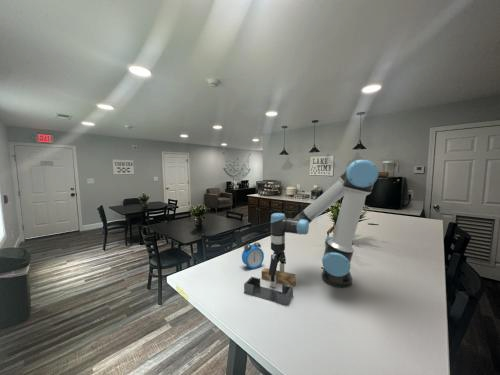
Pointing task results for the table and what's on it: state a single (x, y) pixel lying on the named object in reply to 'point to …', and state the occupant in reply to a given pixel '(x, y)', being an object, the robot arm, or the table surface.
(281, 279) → the long wooden block
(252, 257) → the alarm clock
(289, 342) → the table surface
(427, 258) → the table surface
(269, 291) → the gray cradle tray
